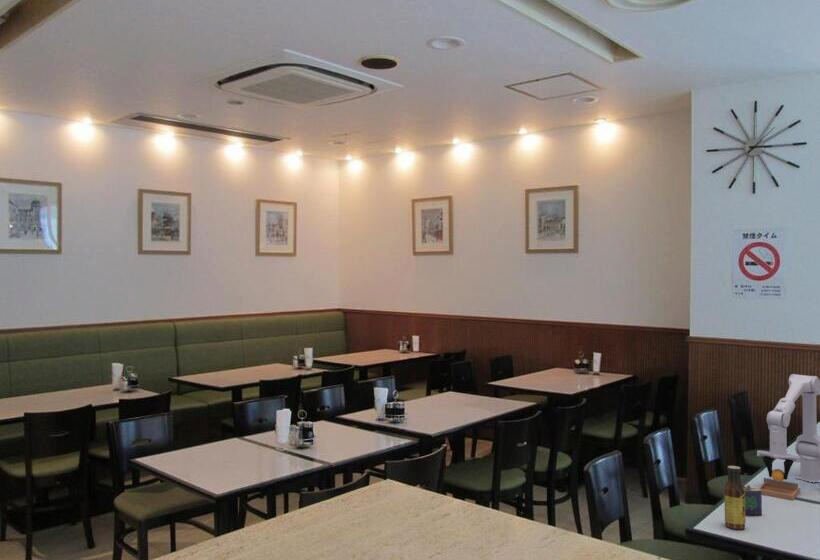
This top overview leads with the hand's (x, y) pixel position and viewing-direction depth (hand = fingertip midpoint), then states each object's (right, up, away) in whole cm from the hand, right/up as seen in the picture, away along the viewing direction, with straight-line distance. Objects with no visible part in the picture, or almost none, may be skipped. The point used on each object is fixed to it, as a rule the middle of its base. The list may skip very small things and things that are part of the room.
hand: (778, 477), depth 257 cm
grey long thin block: (+4, -6, +6) cm, 9 cm away
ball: (0, +1, 0) cm, 1 cm away
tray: (0, -6, 0) cm, 6 cm away
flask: (-23, -6, -23) cm, 33 cm away
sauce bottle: (-34, -6, -34) cm, 48 cm away
